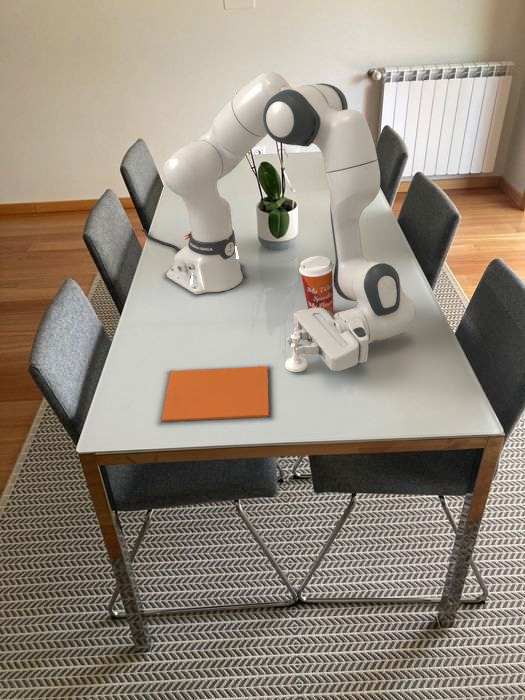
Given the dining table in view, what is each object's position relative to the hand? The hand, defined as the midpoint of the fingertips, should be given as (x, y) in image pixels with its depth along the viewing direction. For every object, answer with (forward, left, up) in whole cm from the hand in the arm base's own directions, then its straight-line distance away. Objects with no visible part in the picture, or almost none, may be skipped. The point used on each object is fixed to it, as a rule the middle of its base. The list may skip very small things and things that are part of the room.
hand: (292, 346), depth 131 cm
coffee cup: (-6, +22, -6) cm, 24 cm away
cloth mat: (-9, -16, -6) cm, 19 cm away
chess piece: (0, +1, -6) cm, 6 cm away
